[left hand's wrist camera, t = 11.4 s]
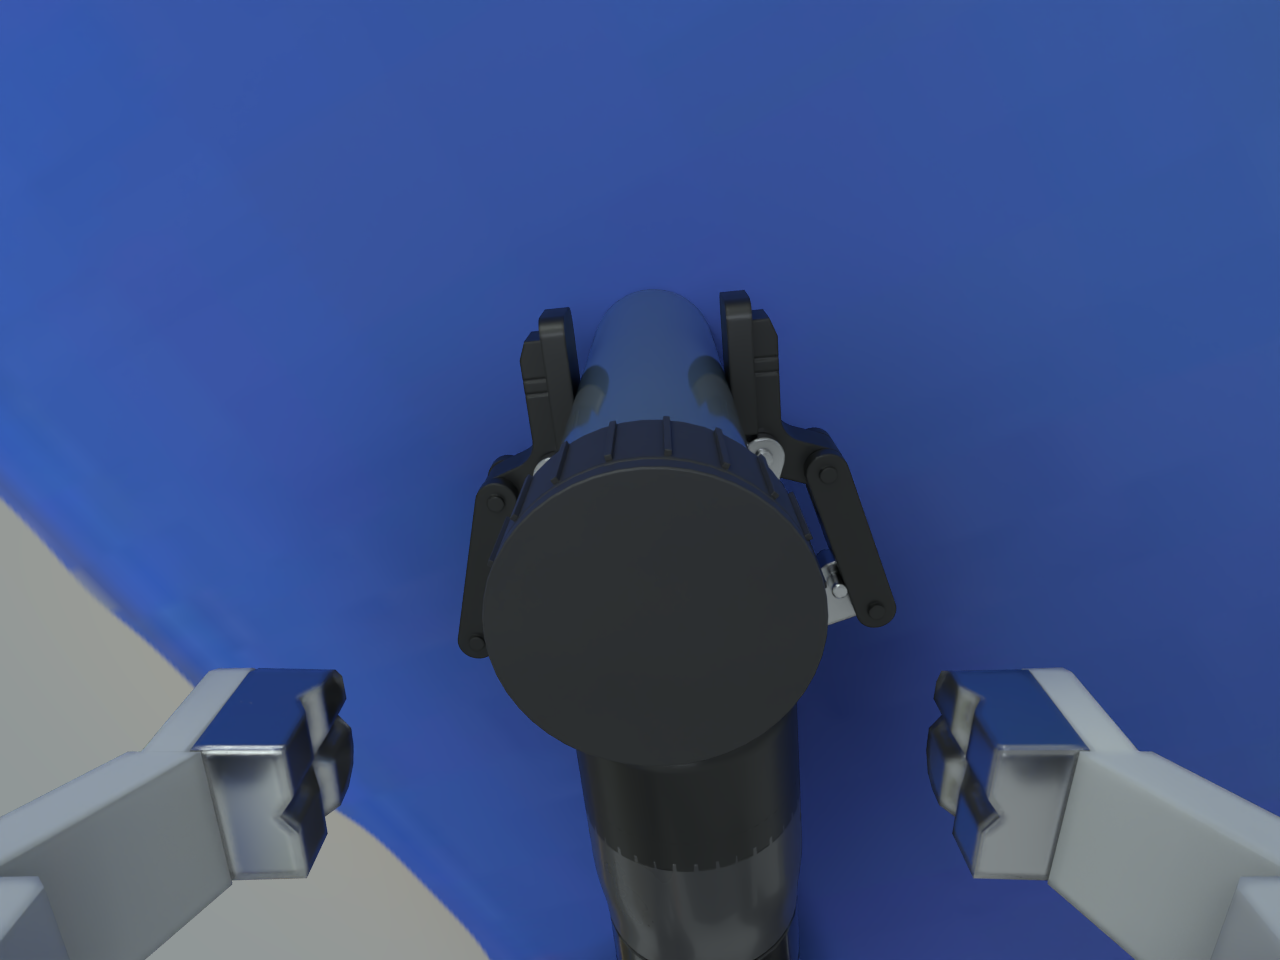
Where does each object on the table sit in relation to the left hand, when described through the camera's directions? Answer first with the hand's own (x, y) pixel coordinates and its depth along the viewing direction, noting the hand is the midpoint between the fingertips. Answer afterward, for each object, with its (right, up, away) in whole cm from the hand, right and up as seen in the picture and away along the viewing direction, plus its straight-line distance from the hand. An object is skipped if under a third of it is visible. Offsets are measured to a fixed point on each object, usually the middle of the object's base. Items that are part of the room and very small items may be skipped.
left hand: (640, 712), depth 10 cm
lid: (0, +1, +2) cm, 2 cm away
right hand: (0, +8, +12) cm, 14 cm away
